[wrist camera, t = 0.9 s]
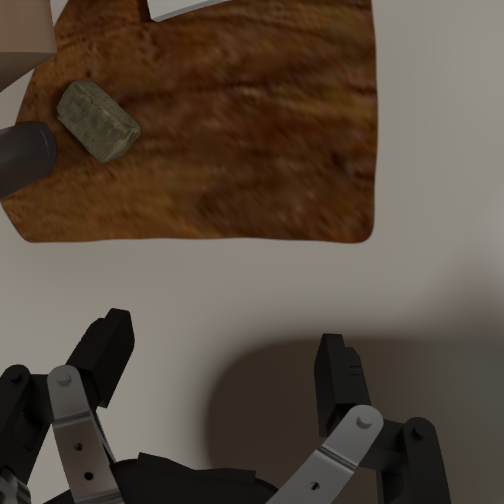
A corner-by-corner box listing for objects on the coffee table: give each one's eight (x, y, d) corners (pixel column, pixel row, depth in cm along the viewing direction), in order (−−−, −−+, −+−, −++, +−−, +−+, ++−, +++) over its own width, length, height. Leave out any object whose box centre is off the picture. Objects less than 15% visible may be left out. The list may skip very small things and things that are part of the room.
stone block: (91, 76, 34) (71, 77, 30) (148, 128, 37) (132, 133, 33) (69, 109, 36) (48, 114, 32) (122, 160, 40) (104, 170, 35)
